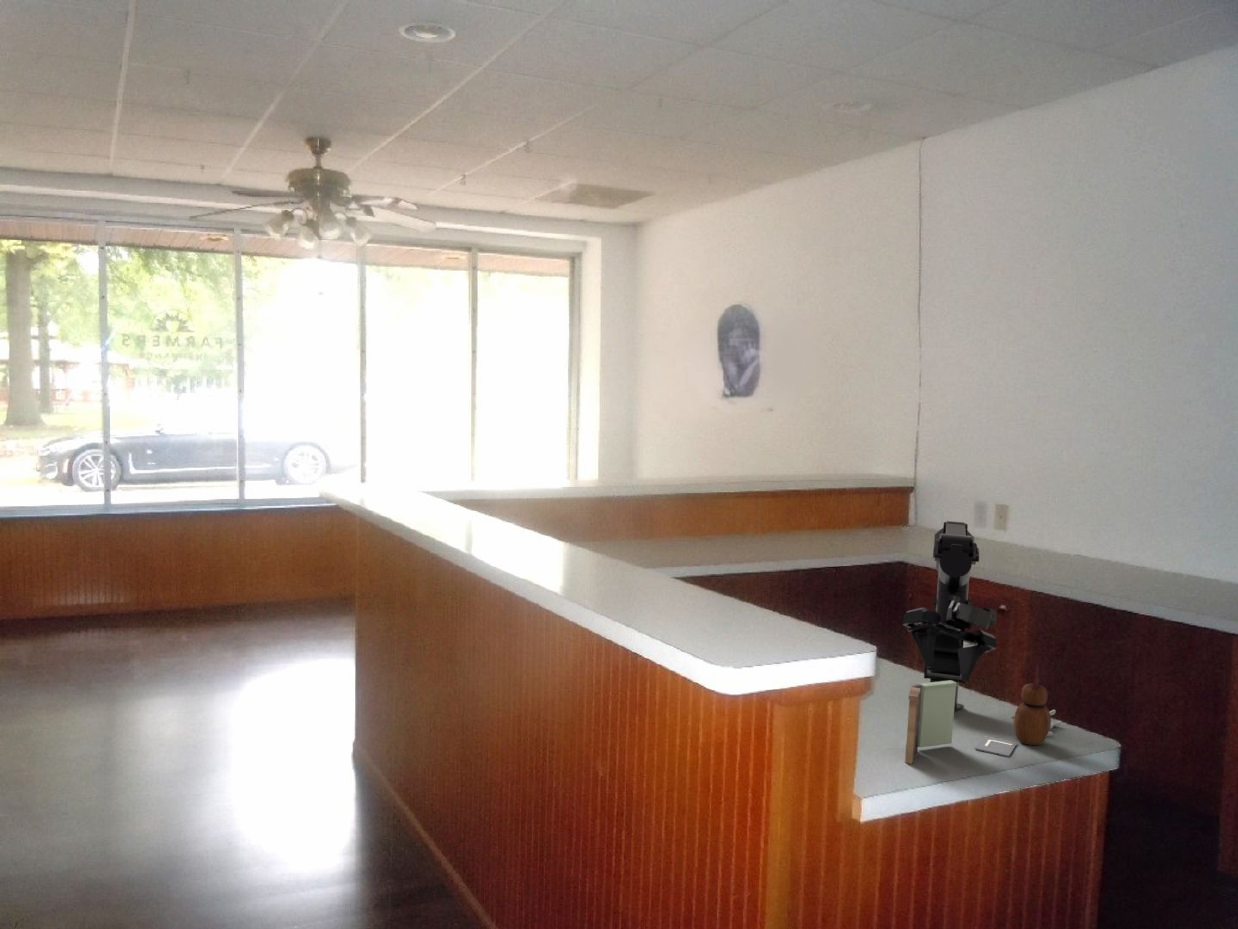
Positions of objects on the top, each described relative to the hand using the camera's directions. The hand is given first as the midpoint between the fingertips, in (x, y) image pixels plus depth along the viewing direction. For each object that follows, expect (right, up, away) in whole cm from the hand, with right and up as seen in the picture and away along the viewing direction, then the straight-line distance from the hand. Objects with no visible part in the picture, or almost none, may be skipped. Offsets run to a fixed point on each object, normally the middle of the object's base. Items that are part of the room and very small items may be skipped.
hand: (947, 674), depth 188 cm
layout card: (+10, -14, +1) cm, 17 cm away
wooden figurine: (+17, -14, +4) cm, 23 cm away
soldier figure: (+21, -14, +12) cm, 28 cm away
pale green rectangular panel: (-3, -13, -1) cm, 13 cm away
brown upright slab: (-8, -14, -5) cm, 17 cm away
